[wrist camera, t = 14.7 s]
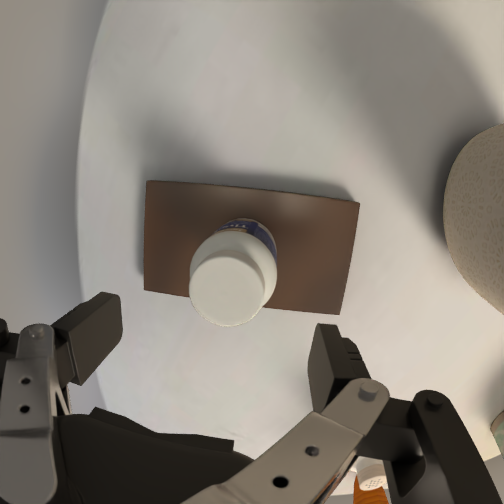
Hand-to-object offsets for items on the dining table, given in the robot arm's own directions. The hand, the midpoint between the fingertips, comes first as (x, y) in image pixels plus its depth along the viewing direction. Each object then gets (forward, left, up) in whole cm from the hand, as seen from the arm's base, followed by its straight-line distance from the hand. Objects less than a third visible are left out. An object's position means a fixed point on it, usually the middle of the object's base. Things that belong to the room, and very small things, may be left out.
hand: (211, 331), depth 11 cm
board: (0, 0, -15) cm, 15 cm away
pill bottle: (0, 0, -14) cm, 14 cm away
